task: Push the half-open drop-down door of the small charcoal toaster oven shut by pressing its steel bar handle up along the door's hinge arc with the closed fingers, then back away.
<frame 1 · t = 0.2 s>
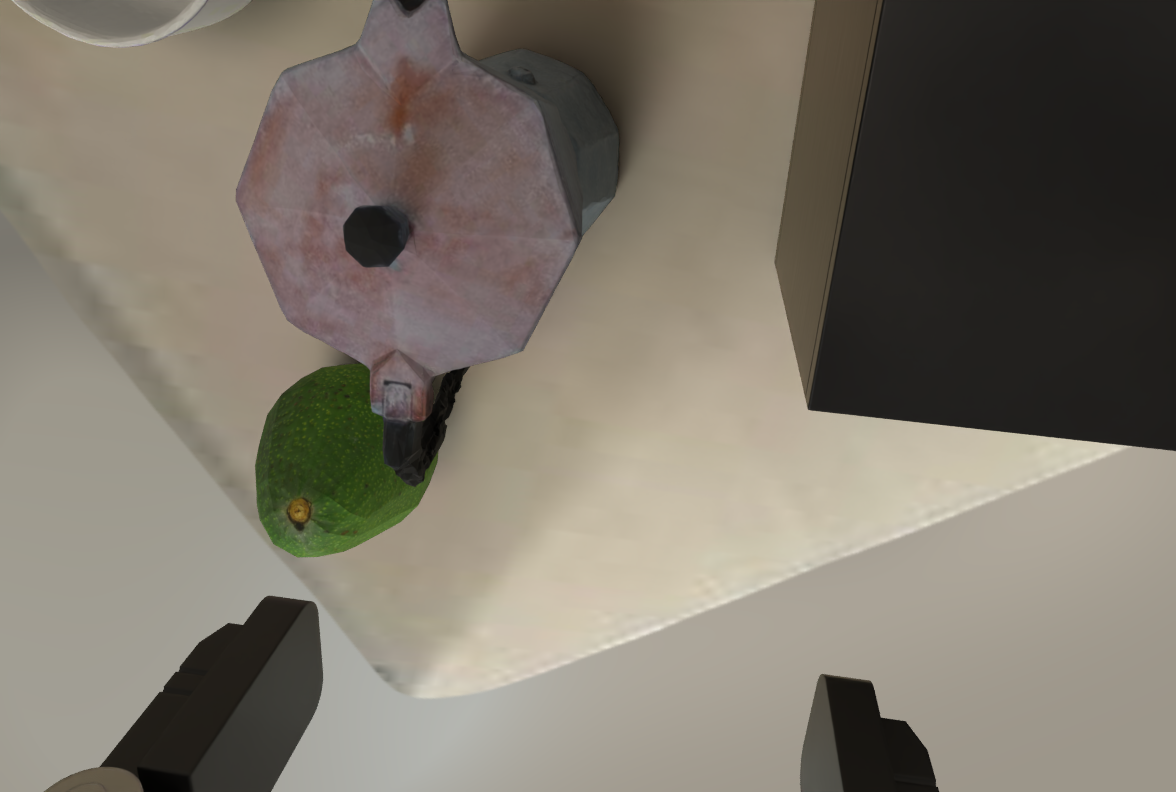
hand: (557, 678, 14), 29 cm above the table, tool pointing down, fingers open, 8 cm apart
oven: (1052, 95, 36), on the table
avocado: (387, 404, 46), on the table
moka pot: (528, 161, 40), on the table
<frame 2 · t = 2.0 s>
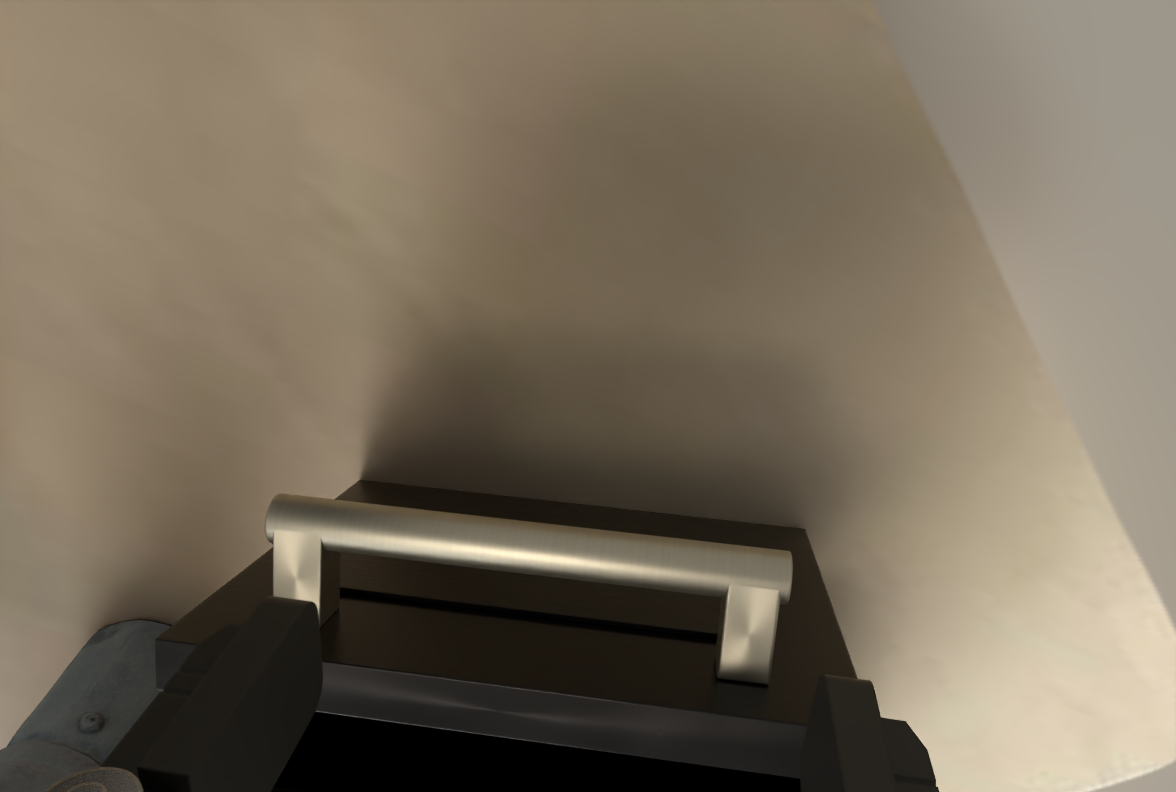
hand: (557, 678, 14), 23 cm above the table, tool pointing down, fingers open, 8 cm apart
oven door: (549, 543, 31), point 7 cm above the table, hinge at 12.6°
oven: (568, 676, 43), on the table
moka pot: (169, 688, 48), on the table
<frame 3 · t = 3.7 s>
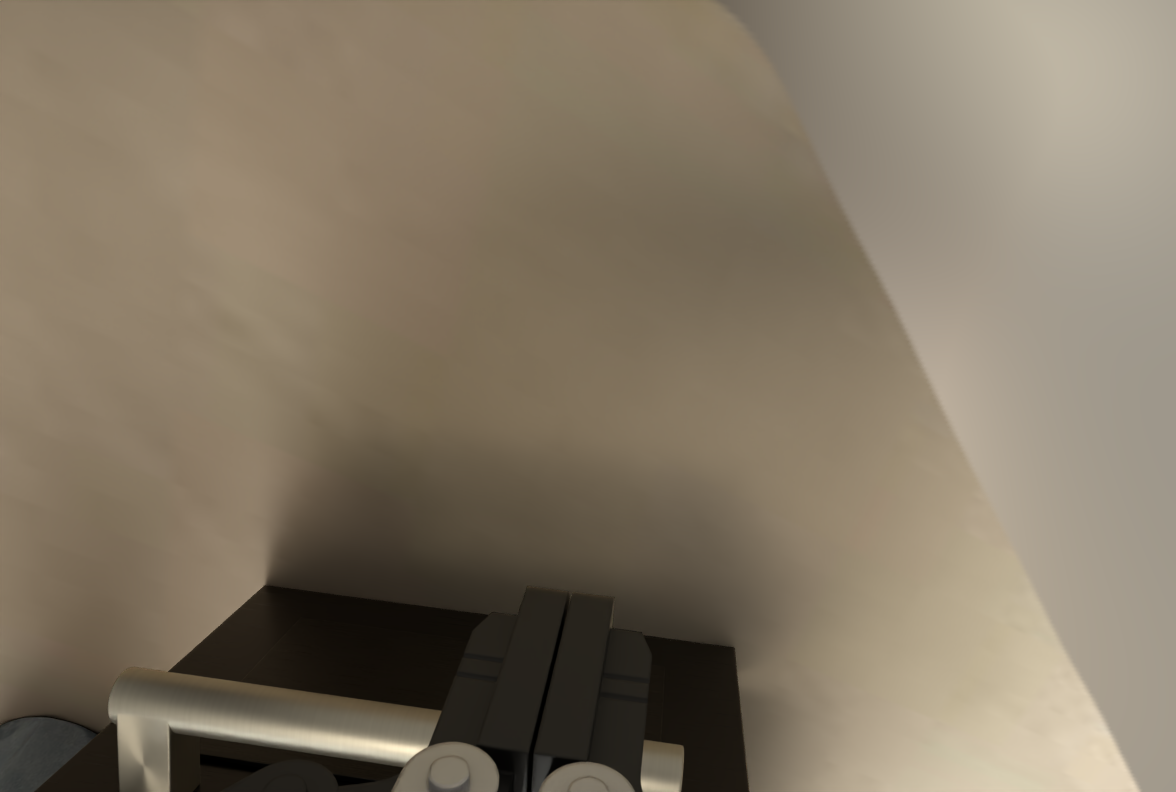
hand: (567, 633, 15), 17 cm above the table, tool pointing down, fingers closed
oven door: (444, 692, 29), point 7 cm above the table, hinge at 12.6°
moka pot: (76, 782, 45), on the table
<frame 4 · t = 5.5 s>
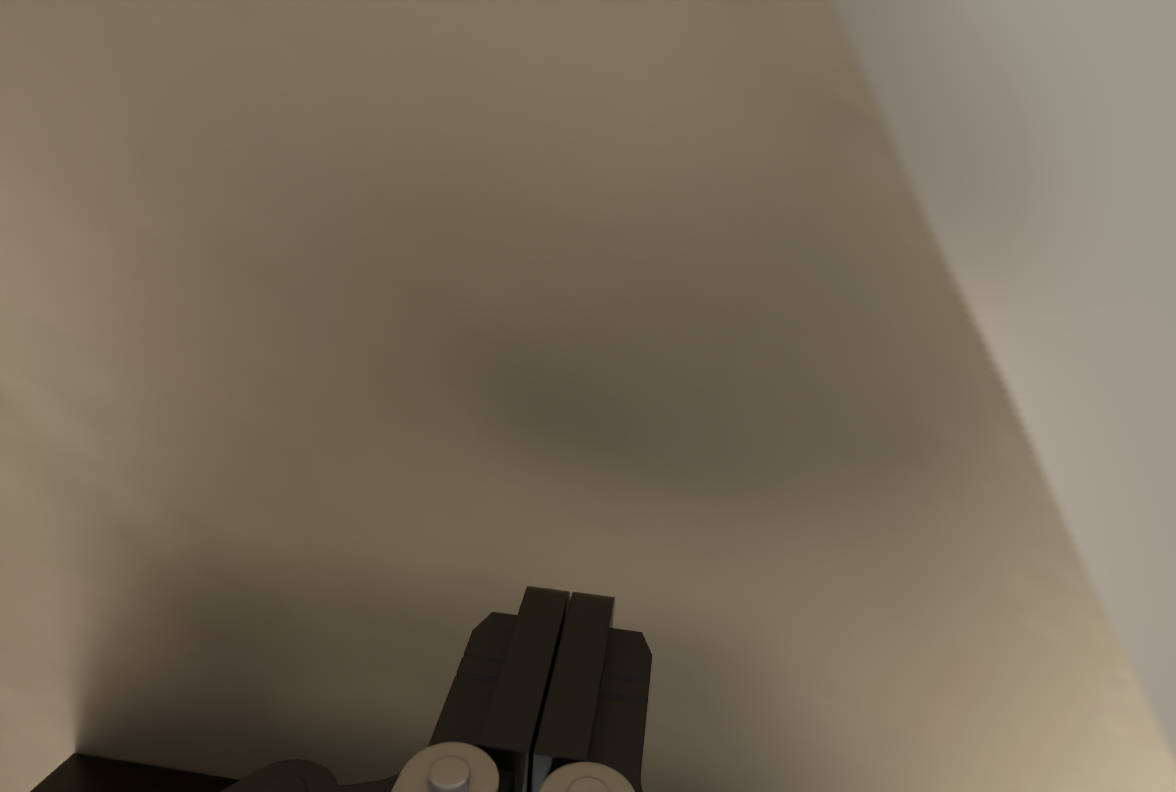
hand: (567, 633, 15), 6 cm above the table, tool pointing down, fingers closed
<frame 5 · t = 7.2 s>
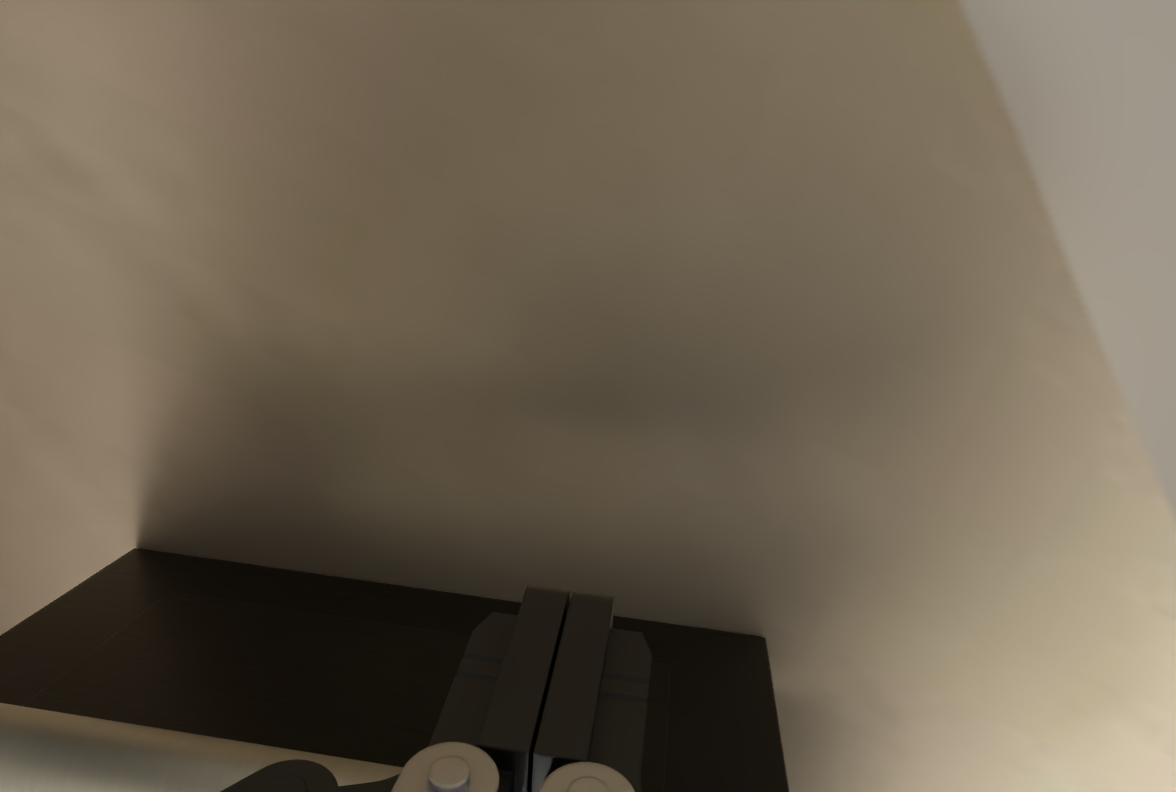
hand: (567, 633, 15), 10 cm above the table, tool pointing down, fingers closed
oven door: (342, 704, 20), point 8 cm above the table, hinge at 10.2°, touching gripper
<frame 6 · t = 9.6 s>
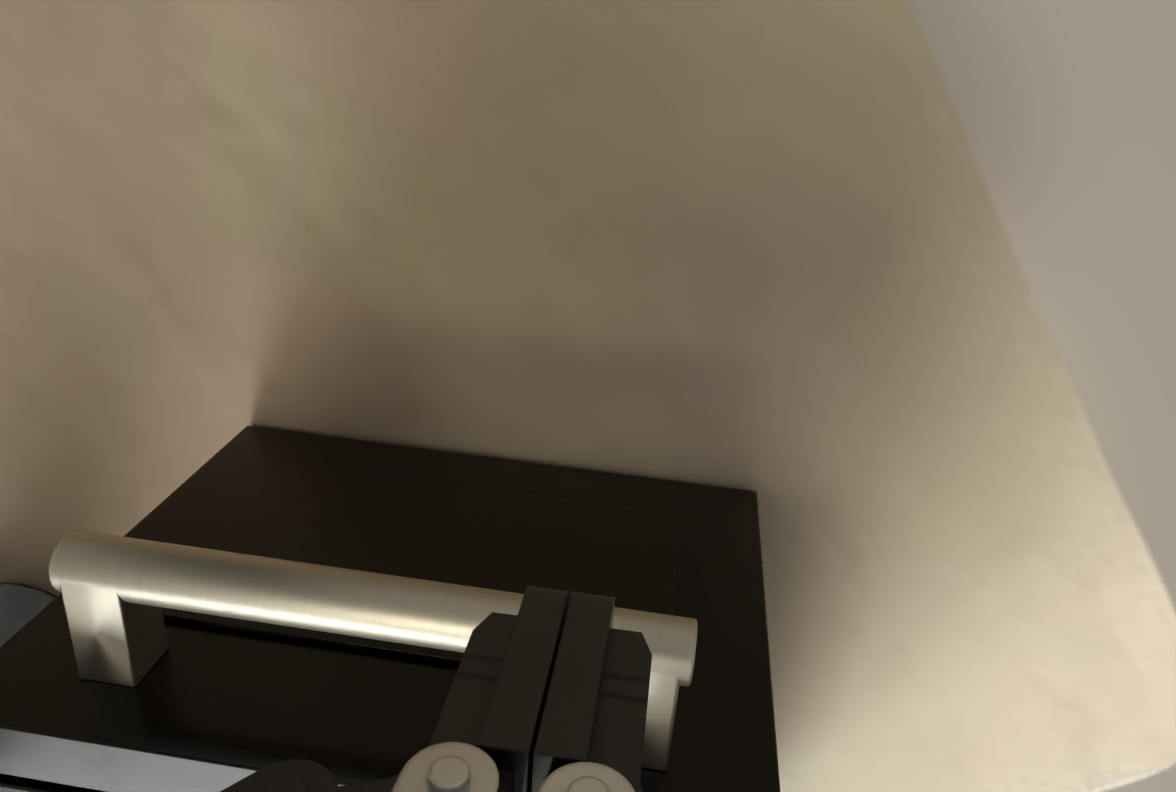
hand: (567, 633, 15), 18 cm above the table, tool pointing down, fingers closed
oven door: (436, 547, 26), point 8 cm above the table, hinge at -0.4°
oven: (489, 657, 38), on the table
moka pot: (45, 662, 42), on the table
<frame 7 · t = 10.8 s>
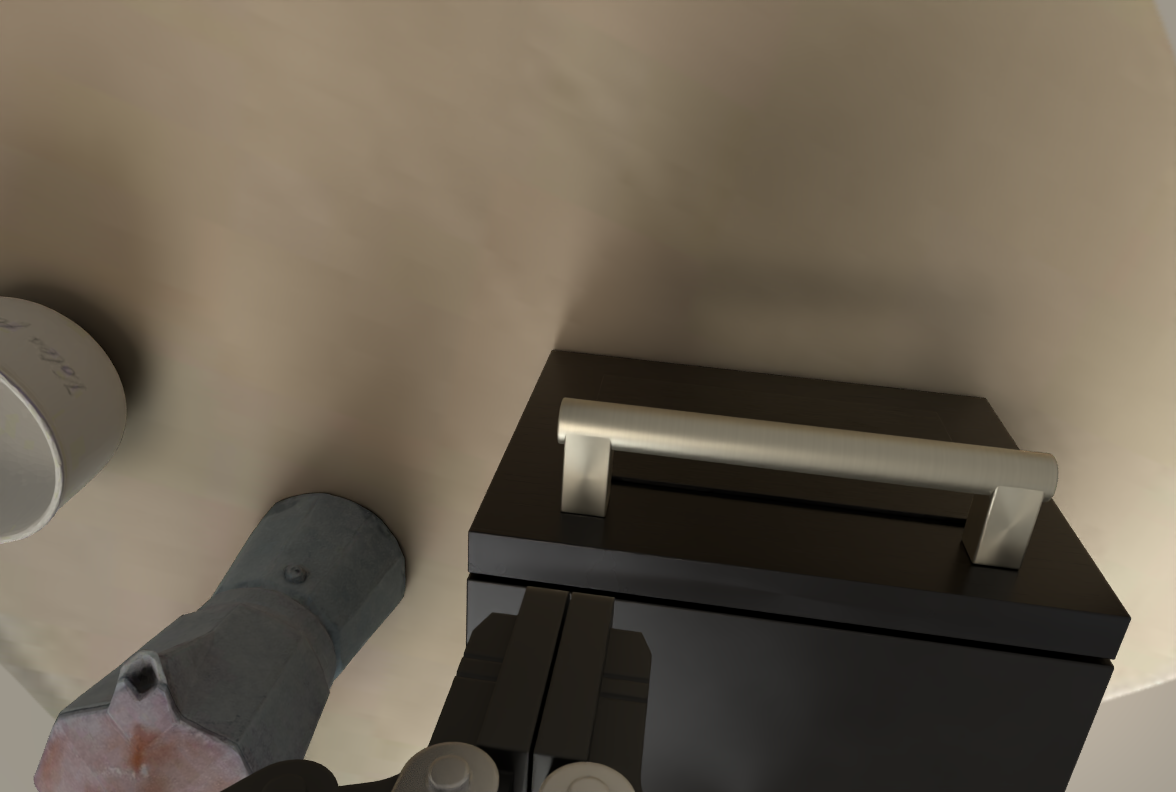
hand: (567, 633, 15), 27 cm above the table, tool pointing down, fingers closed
oven door: (778, 427, 34), point 8 cm above the table, hinge at -0.4°
oven: (735, 548, 45), on the table
teacup: (34, 366, 47), on the table
moka pot: (336, 563, 49), on the table
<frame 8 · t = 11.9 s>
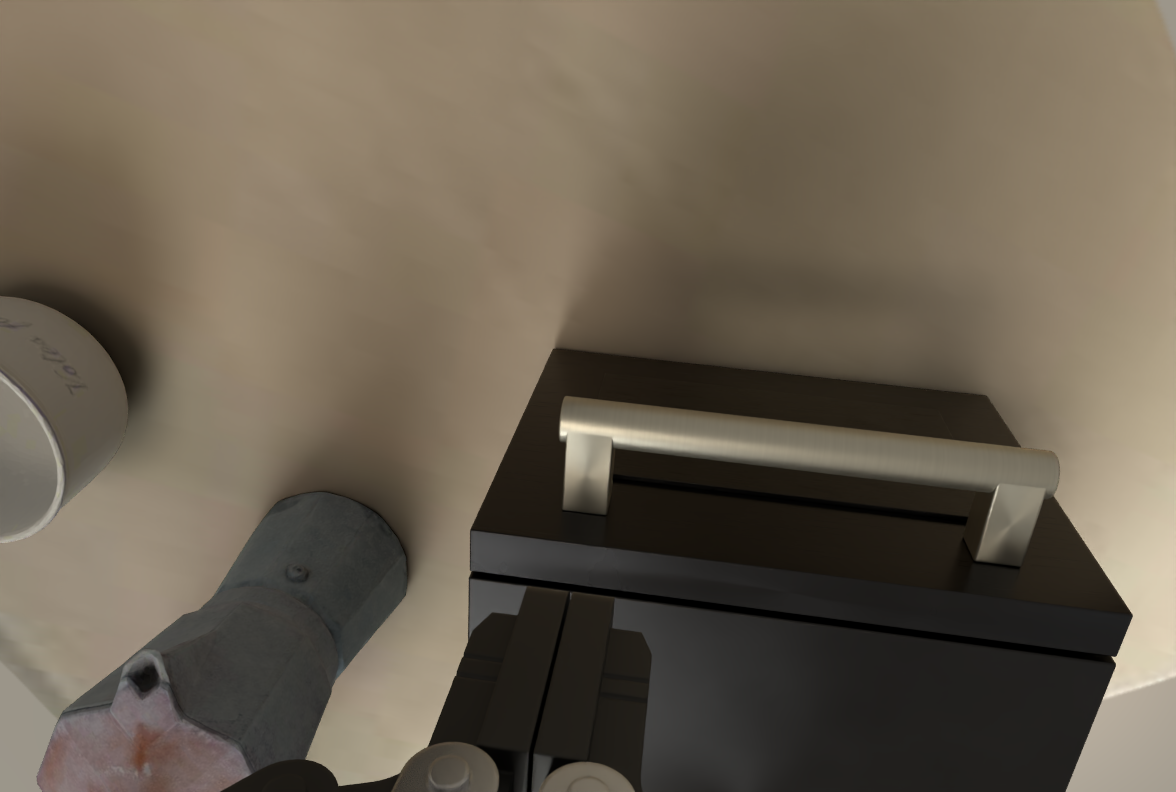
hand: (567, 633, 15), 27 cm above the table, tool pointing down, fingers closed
oven door: (779, 425, 34), point 8 cm above the table, hinge at -0.4°
oven: (736, 546, 45), on the table
teacup: (35, 366, 47), on the table
moka pot: (338, 562, 49), on the table
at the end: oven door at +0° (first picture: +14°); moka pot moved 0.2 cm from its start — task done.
